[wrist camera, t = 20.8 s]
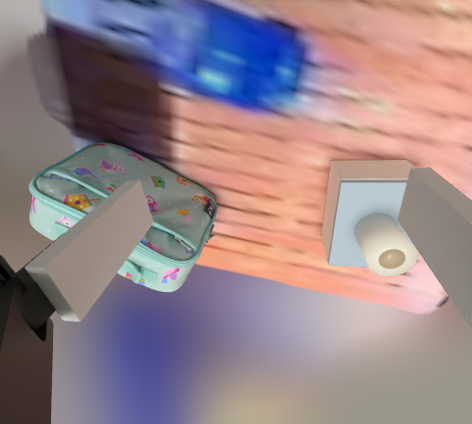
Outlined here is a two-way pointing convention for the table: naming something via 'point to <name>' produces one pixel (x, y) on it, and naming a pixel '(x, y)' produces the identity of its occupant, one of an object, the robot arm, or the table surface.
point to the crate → (357, 172)
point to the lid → (361, 215)
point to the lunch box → (158, 198)
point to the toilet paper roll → (384, 245)
